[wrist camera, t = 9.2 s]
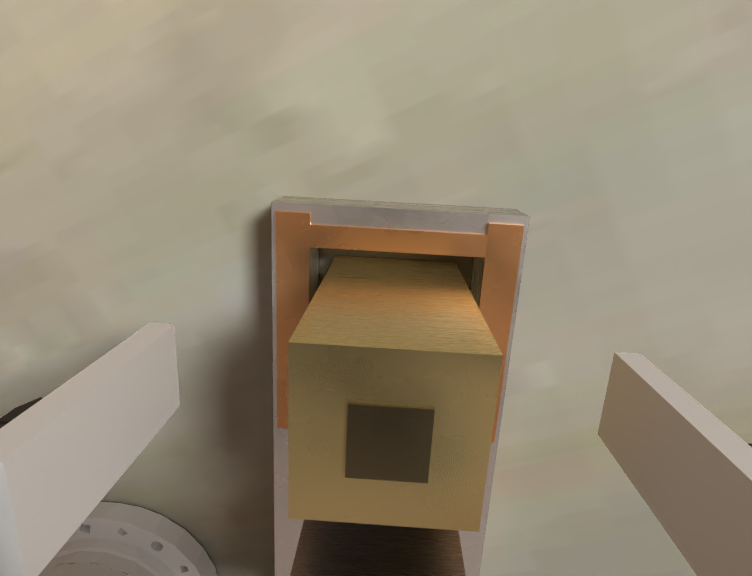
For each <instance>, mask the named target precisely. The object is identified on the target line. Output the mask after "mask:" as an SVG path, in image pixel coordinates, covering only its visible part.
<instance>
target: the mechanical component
mask: <svg viewBox="0 0 752 576" xmlns="http://www.w3.org/2000/svg"><path fill="white" fill-rule="evenodd" d="M38 576H217V572H216V568H215V566H214V565H213V563H212V561H211V560H210V558H209V556H208V555H207V553H206V551H205V550H204V548H203V547H202V546H201V545H200V544H199V543H198V542H197V541H196V540H195V539H194V538H193V537H192V536H191V535H190V534H189V533H188V532H187V531H186V530H185V529H183V528H182V527H180V526H178V525H177V524H175V523H174V522H172V521H170V520H169V519H167V518H166V517H164V516H162V515H160V514H157V513H155V512H152V511H150V510H147V509H144V508H142V507H138V506H132V505H127V504H122V503H112V502H99V503H98V505H97V506H96V507H95V508H94V509H93V511H92V512H91V513H90V514H89V515H88V517H87V518H86V519H85V520H84V521H83V523H82V524H81V525H80V526H79V527H78V529H77V530H76V531H75V532H74V533H73V535H72V536H71V537H70V538H69V539H68V541H67V542H66V543H65V544H64V545H63V547H62V548H61V549H60V550H59V551H58V553H57V554H56V555H55V556H54V557H53V558H52V560H51V561H50V562H49V563H48V564H47V566H46V567H45V568H44V569H43V570H42V572H41V573H40V574H39V575H38Z"/></svg>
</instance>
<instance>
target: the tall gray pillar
mask: <svg viewBox="0 0 752 576" xmlns="http://www.w3.org/2000/svg"><path fill="white" fill-rule="evenodd" d="M290 576H466V574H465V568H464V562H463V555H462V549H461V543H460V537H459V530H445V529H431V528H417V527H403V526H389V525H375V524H361V523H347V522H333V521H319V520H305V519H304V522H303V526H302V530H301V534H300V538H299V542H298V546H297V550H296V554H295V558H294V562H293V566H292V570H291V574H290Z"/></svg>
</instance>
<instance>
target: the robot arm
mask: <svg viewBox="0 0 752 576" xmlns="http://www.w3.org/2000/svg"><path fill="white" fill-rule="evenodd" d="M179 407H180V397H179V382H178V368H177V354H176V339H175V325H174V324H163V323H148V324H147V325H145V326H144V327H143V328H141V329H140V330H138V331H137V332H136V333H134V334H133V335H131V336H130V337H128V338H127V339H126V340H124V341H123V342H121V343H120V344H119V345H117V346H116V347H114V348H113V349H112V350H110V351H109V352H107V353H106V354H105V355H103V356H102V357H100V358H99V359H98V360H96V361H95V362H93V363H92V364H91V365H89V366H88V367H86V368H85V369H83V370H82V371H81V372H79V373H78V374H76V375H75V376H74V377H72V378H71V379H69V380H68V381H67V382H65V383H64V384H62V385H61V386H60V387H58V388H57V389H55V390H54V391H53V392H51V393H50V394H48V395H47V396H45V397H44V398H41V397H40V398H38V399H35V400H33V401H31V402H28V403H26V404H24V405H21V406H19V407H17V408H15V409H13V410H12V411H11V412H9V413H8V414H6V415H5V416H3V417H2V418H0V576H38V575H39V574H40V573H41V572H42V570H43V569H44V568H45V567H46V566H47V564H48V563H49V562H50V561H51V560H52V558H53V557H54V556H55V555H56V554H57V553H58V551H59V550H60V549H61V548H62V547H63V545H64V544H65V543H66V542H67V541H68V539H69V538H70V537H71V536H72V535H73V533H74V532H75V531H76V530H77V529H78V527H79V526H80V525H81V524H82V523H83V521H84V520H85V519H86V518H87V517H88V515H89V514H90V513H91V512H92V511H93V509H94V508H95V507H96V506H97V505H98V503H99V502H100V501H101V500H102V499H103V497H104V496H105V495H106V494H107V493H108V491H109V490H110V489H111V488H112V487H113V485H114V484H115V483H116V482H117V481H118V480H119V478H120V477H121V476H122V475H123V474H124V472H125V471H126V470H127V469H128V468H129V466H130V465H131V464H132V463H133V462H134V460H135V459H136V458H137V457H138V456H139V454H140V453H141V452H142V451H143V450H144V448H145V447H146V446H147V445H148V444H149V442H150V441H151V440H152V439H153V438H154V436H155V435H156V434H157V433H158V432H159V430H160V429H161V428H162V427H163V426H164V424H165V423H166V422H167V421H168V420H169V418H170V417H171V416H172V415H173V414H174V412H175V411H176V410H177V409H178V408H179ZM598 435H599V436H600V438H601V439H602V441H603V442H604V443H605V445H606V446H607V448H608V449H609V451H610V452H611V453H612V455H613V456H614V458H615V459H616V461H617V462H618V463H619V465H620V466H621V468H622V469H623V471H624V472H625V473H626V475H627V476H628V478H629V479H630V480H631V482H632V483H633V485H634V486H635V488H636V489H637V490H638V492H639V493H640V495H641V496H642V498H643V499H644V500H645V502H646V503H647V505H648V506H649V507H650V509H651V510H652V512H653V513H654V515H655V516H656V517H657V519H658V520H659V522H660V523H661V525H662V526H663V527H664V529H665V530H666V532H667V533H668V535H669V536H670V537H671V539H672V540H673V542H674V543H675V544H676V546H677V547H678V549H679V550H680V552H681V553H682V554H683V556H684V557H685V559H686V560H687V562H688V563H689V564H690V566H691V567H692V569H693V570H694V571H695V573H696V574H697V576H752V444H747V443H746V442H745V441H744V440H742V439H741V438H740V437H739V436H738V435H737V434H735V433H734V432H733V431H732V430H731V429H729V428H728V427H727V426H726V425H725V424H724V423H722V422H721V421H720V420H719V419H718V418H716V417H715V416H714V415H713V414H712V413H710V412H709V411H708V410H707V409H706V408H705V407H703V406H702V405H701V404H700V403H699V402H697V401H696V400H695V399H694V398H693V397H692V396H690V395H689V394H688V393H687V392H686V391H684V390H683V389H682V388H681V387H680V386H678V385H677V384H676V383H675V382H674V381H673V380H671V379H670V378H669V377H668V376H667V375H665V374H664V373H663V372H662V371H661V370H660V369H658V368H657V367H656V366H655V365H654V364H652V363H651V362H650V361H649V360H648V359H646V358H645V357H644V356H643V355H642V354H637V353H621V352H614V357H613V362H612V367H611V372H610V377H609V382H608V386H607V391H606V396H605V401H604V406H603V411H602V416H601V420H600V425H599V430H598Z"/></svg>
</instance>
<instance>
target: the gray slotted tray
mask: <svg viewBox="0 0 752 576" xmlns="http://www.w3.org/2000/svg"><path fill="white" fill-rule="evenodd" d="M529 219H530V216H528V215H526V214H524V213H522V212H520V211H519V210H517V209H503V208H486V207H468V206H450V205H433V204H415V203H397V202H380V201H362V200H344V199H327V198H309V197H291V196H283V197H281V198H279V199H276V200H274V201H272V202H271V221H272V329H273V437H274V545H275V576H290V574H291V570H292V566H293V562H294V558H295V554H296V550H297V546H298V542H299V538H300V534H301V530H302V526H303V522H304V519H291V518H288V342H289V340H290V338H291V336H292V335H293V333H294V331H295V329H296V327H297V325H298V324H299V322H300V320H301V318H302V316H303V315H304V313H305V311H306V309H307V307H308V306H309V304H310V302H311V300H312V298H313V296H314V295H315V293H316V291H317V289H318V268H319V248H331V249H348V250H365V251H382V252H399V253H416V254H432V255H449V256H466V257H474V263H473V272H472V281H471V290H470V292H471V294H472V296H473V298H474V300H475V302H476V304H477V306H478V308H479V310H480V312H481V314H482V316H483V317H484V319H485V321H486V323H487V325H488V327H489V329H490V331H491V333H492V335H493V337H494V339H495V341H496V343H497V345H498V347H499V349H500V351H501V353H502V355H503V359H502V366H501V374H500V381H499V389H498V396H497V403H496V411H495V418H494V426H493V433H492V440H491V448H490V455H489V462H488V470H487V477H486V485H485V492H484V499H483V507H482V514H481V522H480V529H479V532H473V531H459V537H460V543H461V549H462V555H463V562H464V568H465V574H466V576H479V573H480V566H481V559H482V552H483V545H484V538H485V531H486V524H487V517H488V510H489V503H490V495H491V488H492V481H493V474H494V467H495V460H496V453H497V446H498V439H499V432H500V425H501V417H502V410H503V403H504V396H505V389H506V382H507V375H508V368H509V361H510V354H511V346H512V339H513V332H514V325H515V318H516V311H517V304H518V297H519V290H520V283H521V276H522V268H523V261H524V254H525V247H526V240H527V233H528V226H529Z"/></svg>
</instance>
